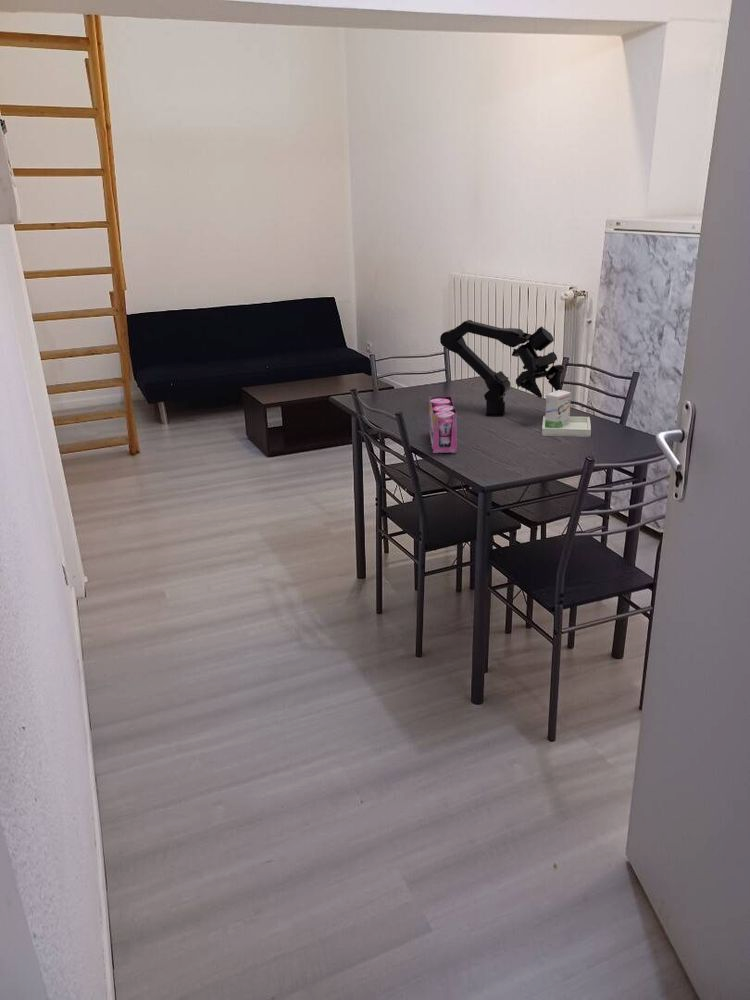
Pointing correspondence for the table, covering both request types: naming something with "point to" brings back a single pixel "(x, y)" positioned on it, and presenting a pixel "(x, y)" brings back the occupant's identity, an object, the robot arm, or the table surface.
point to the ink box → (557, 409)
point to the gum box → (443, 424)
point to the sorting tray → (570, 428)
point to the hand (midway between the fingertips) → (551, 395)
